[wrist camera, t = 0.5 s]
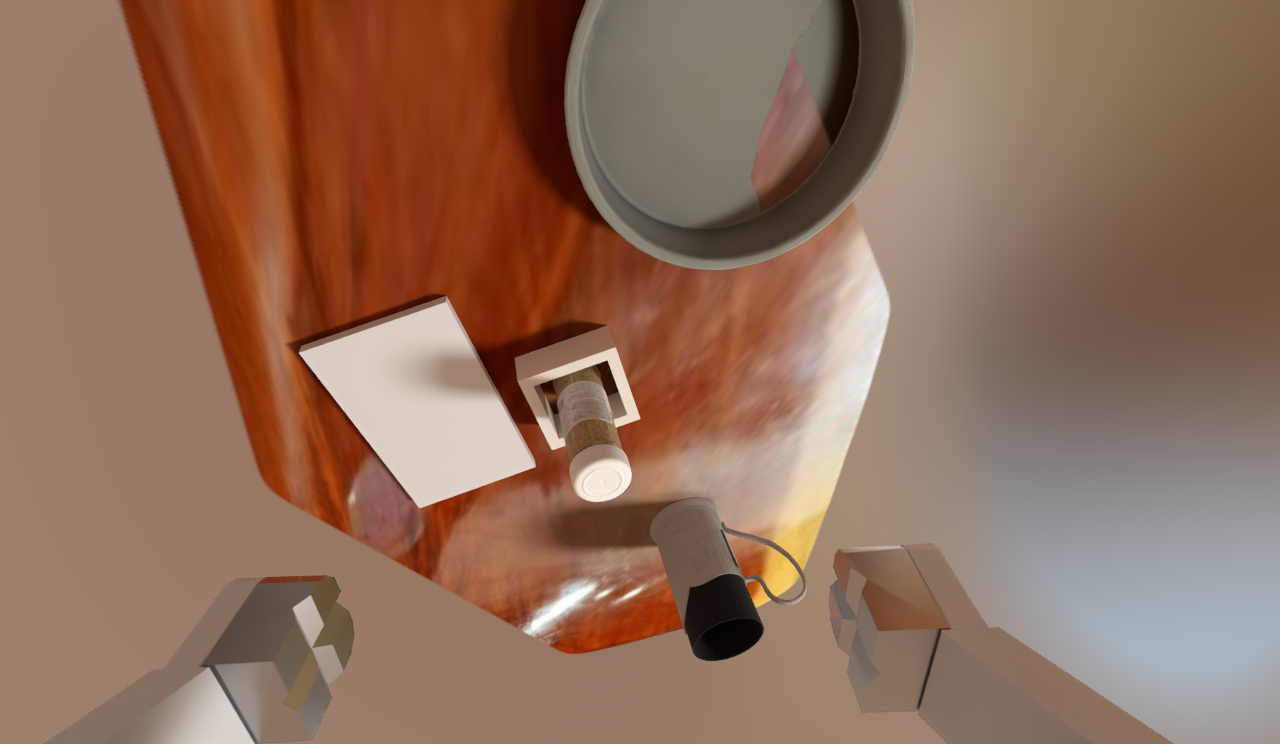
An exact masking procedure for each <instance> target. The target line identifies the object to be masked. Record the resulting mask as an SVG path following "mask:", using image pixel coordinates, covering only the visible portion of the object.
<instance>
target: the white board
mask: <svg viewBox="0 0 1280 744" xmlns="http://www.w3.org/2000/svg"><path fill="white" fill-rule="evenodd" d="M299 354H300V355H301V357H302V358H303V359H304V360H305V362H306V363H307V364H308V366H309V367H310V368H311V369H312V371H313V372H314V373H315V375H316V376H317V377H318V378H319V380H320V381H321V382H322V384H323V385H324V386H325V387H326V389H327V390H328V391H329V393H330V394H331V395H332V396H333V398H334V399H335V400H336V402H337V403H338V404H339V405H340V407H341V408H342V409H343V411H344V412H345V413H346V414H347V416H348V417H349V418H350V420H351V421H352V422H353V423H354V425H355V426H356V427H357V429H358V430H359V431H360V432H361V434H362V435H363V436H364V438H365V439H366V440H367V441H368V443H369V444H370V445H371V447H372V448H373V449H374V450H375V452H376V453H377V454H378V456H379V457H380V458H381V459H382V461H383V462H384V463H385V465H386V466H387V467H388V468H389V470H390V471H391V472H392V473H393V475H394V476H395V477H396V479H397V480H398V481H399V482H400V484H401V485H402V486H403V488H404V489H405V490H406V491H407V493H408V494H409V495H410V497H411V498H412V499H413V500H414V502H415V503H416V504H417V506H418V507H419V508H422V507H424V506H427V505H430V504H433V503H436V502H439V501H441V500H444V499H447V498H450V497H453V496H455V495H458V494H461V493H464V492H467V491H469V490H472V489H475V488H478V487H481V486H483V485H486V484H489V483H492V482H495V481H497V480H500V479H503V478H506V477H509V476H512V475H514V474H517V473H520V472H523V471H526V470H528V469H531V468H534V467H536V466H535V460H534V458H533V456H532V454H531V452H530V450H529V449H528V447H527V445H526V443H525V441H524V439H523V437H522V435H521V434H520V432H519V430H518V428H517V426H516V424H515V422H514V421H513V419H512V417H511V415H510V413H509V411H508V409H507V408H506V406H505V404H504V402H503V400H502V398H501V396H500V395H499V393H498V391H497V389H496V387H495V385H494V383H493V381H492V380H491V378H490V376H489V374H488V372H487V370H486V368H485V367H484V365H483V363H482V361H481V359H480V357H479V355H478V354H477V352H476V350H475V348H474V346H473V344H472V342H471V341H470V339H469V337H468V335H467V333H466V331H465V329H464V327H463V326H462V324H461V322H460V320H459V318H458V316H457V314H456V313H455V311H454V309H453V307H452V305H451V303H450V301H449V300H448V298H447V296H444V297H441V298H438V299H436V300H433V301H430V302H427V303H424V304H421V305H418V306H415V307H412V308H409V309H407V310H404V311H401V312H398V313H395V314H392V315H389V316H386V317H383V318H381V319H378V320H375V321H372V322H369V323H366V324H363V325H360V326H357V327H354V328H352V329H349V330H346V331H343V332H340V333H337V334H334V335H331V336H328V337H326V338H323V339H320V340H317V341H314V342H311V343H308V344H305V345H302V346H301V348H300V351H299Z"/></svg>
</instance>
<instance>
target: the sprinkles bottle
mask: <svg viewBox="0 0 1280 744" xmlns="http://www.w3.org/2000/svg"><path fill="white" fill-rule="evenodd" d="M553 388H554V390H555V392H556V396H557V405H558V411H559V416H560V421H561V426H562V431H563V436H564V440H565V445H566V448H567V452H568V456H569V461H570V477H571V481H572V485H573V489H574V491H575V492H576V494H577V495H578V496H579V497H581V498H583V499H585V500H587V501H592V502H602V501H607V500H610V499H613V498H615V497H617V496H618V495H620V494H621V493H623V492H624V491H625V490H626V488H627V487H628V485H629V484H630V481H631V476H632V475H631V469H630V465H629V462H628V459H627V456H626V454H625V453H624V451H623V450H622V447H621V444H620V440H619V437H618V434H617V430H616V426H615V423H614V420H613V415H612V411H611V408H610V405H609V402H608V398H607V395H606V392H605V390H604V388H603V385H602V381H601V374H600V372H599V370H598V368H597V367H596V366H595V365H593V366H590V367H587V368H584V369H581V370H578V371H576V372H573V373H570V374H567V375H564V376H561V377H559V378H556V379H553Z"/></svg>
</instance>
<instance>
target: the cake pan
mask: <svg viewBox="0 0 1280 744" xmlns="http://www.w3.org/2000/svg"><path fill="white" fill-rule="evenodd" d="M793 49H794V51H795V53H796V56H797V59H798V62H799V64H800V66H801V69H802V72H803V75H804V77H805V79H806V82H807V85H808V88H809V90H810V92H811V95H812V98H813V101H814V102H815V105H816V108H817V111H818V113H819V115H820V118H821V122H822V124H823V126H824V128H825V132H826V135H827V137H828V139H829V142H830V145H831V148H830V150H829V151H828V153H827V154H826V156H825V157H824V159H823V160H822V161H821V163H820V164H819V165H818V167H817V168H816V169H815V170H814V172H813V173H812V174H811V175H810V176H809V177H808V178H807V179H806V180H805V181H804V182H803V183H802V184H801V185H800V186H799V187H798V188H797V189H795V190H794V191H793V192H792V193H791V194H789V195H788V196H786V197H785V198H784V199H782V200H781V201H779V202H778V203H776V204H774V205H773V206H771V207H769V208H768V209H766V210H764V211H762V212H761V208H760V202H759V197H758V195H757V193H756V191H755V189H754V186H753V184H752V182H751V172H752V167H753V166H754V158H755V157H756V155H757V153H758V140H759V137H760V135H761V132H762V129H763V126H764V124H765V121H766V119H767V116H768V113H769V111H770V108H771V106H772V103H773V101H774V98H775V95H776V93H777V90H778V88H779V85H780V83H781V80H782V77H783V75H784V72H785V70H786V67H787V65H788V62H789V59H790V57H791V54H792V52H793ZM914 59H915V18H914V9H913V2H912V0H586V2H585V4H584V7H583V9H582V12H581V15H580V17H579V20H578V22H577V26H576V29H575V32H574V35H573V39H572V43H571V47H570V52H569V55H568V59H567V68H566V75H565V91H564V93H565V96H564V108H565V119H566V129H567V136H568V140H569V146H570V149H571V154H572V157H573V161H574V164H575V167H576V171H577V173H578V175H579V177H580V180H581V182H582V185H583V187H584V190H585V191H586V193H587V195H588V196H589V198H590V199H591V201H592V202H593V204H594V206H595V207H596V209H597V210H598V212H599V213H600V215H601V216H602V217H603V218H604V219H605V220H606V221H607V222H608V223H609V225H610V226H611V227H612V228H613V229H614V230H615V231H616V232H617V233H618V234H620V235H621V236H622V237H623V238H624V239H625V240H626V241H628V242H629V243H631V244H632V245H633V246H635V247H636V248H638V249H639V250H641V251H643V252H645V253H647V254H649V255H651V256H653V257H655V258H657V259H659V260H662V261H665V262H668V263H671V264H674V265H678V266H682V267H687V268H693V269H705V270H724V269H732V268H738V267H743V266H748V265H752V264H756V263H759V262H763V261H766V260H769V259H771V258H774V257H776V256H778V255H781V254H783V253H785V252H787V251H789V250H791V249H793V248H795V247H797V246H798V245H800V244H802V243H803V242H805V241H807V240H808V239H810V238H811V237H813V236H814V235H815V234H817V233H818V232H819V231H821V230H822V229H823V228H825V227H826V226H827V225H828V224H830V223H831V222H832V221H833V220H834V219H835V218H836V217H837V216H838V215H839V214H840V213H841V212H842V211H844V209H845V208H846V207H847V206H848V205H849V204H850V203H851V202H852V201H853V200H854V199H855V197H856V196H857V195H858V194H859V193H860V191H861V190H862V189H863V187H864V186H865V185H866V183H867V182H868V181H869V179H870V178H871V176H872V175H873V173H874V172H875V170H876V169H877V167H878V165H879V164H880V162H881V160H882V159H883V157H884V155H885V153H886V152H887V150H888V148H889V146H890V144H891V142H892V140H893V137H894V135H895V133H896V131H897V128H898V126H899V123H900V120H901V117H902V115H903V112H904V108H905V105H906V101H907V98H908V94H909V90H910V85H911V80H912V75H913V67H914Z"/></svg>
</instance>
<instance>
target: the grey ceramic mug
mask: <svg viewBox="0 0 1280 744" xmlns="http://www.w3.org/2000/svg"><path fill="white" fill-rule="evenodd" d="M721 524H722V525H721ZM724 531H725V532H727V533H728V534H731V535H734V536H737V537H741V538H745V539H749V540H753V541H757V542H760V543H763V544H765V545H768V546H770V547H772V548H774V549H776V550H777V551H779V552H780V553H781V554H783V555H784V556H785V557H787V558H788V559H789V560H790V562H791V563H792V564H793V565H794V566H795V568H796V569H797V571H798V572H799V574H800V576H801V577H802V580H803V583H804V587H803V591H802V592H801V594H800V595H798V596H797V597H796V598H794V599H792V600H783V599H779V598H777V597H775V596H774V595H773V594H772V593H771V592H770V591H769V589H768V588H767V586H766V584H765V582H764V580H763V579H762V578H761V577H760V576H757V575H751V576H748V577H745V578H744V576H743V574H742V571H741V569H740V567H739V564H738V562H737V560H736V557H735V555H734V553H733V550H732V548H731V546H730V543H729V541H728V539H727V536H726V534H725V532H724ZM650 536H651V538H652V539H653V541H654V542H655V543H656V544H657V545H658V548H659V551H660V555H661V558H662V561H663V564H664V567H665V570H666V574H667V577H668V580H669V583H670V586H671V589H672V593H673V596H674V599H675V602H676V605H677V609H678V612H679V615H680V618H681V621H682V624H683V628H684V631H685V634H687V635H688V637H689V640H690V644H691V647H692V650H693V653H694V655H695V656H696V657H698V658H699V659H702V660H706V661H718V660H724V659H728V658H731V657H734V656H737V655H739V654H741V653H743V652H745V651H746V650H748V649H750V648H751V647H752V646H754V645H755V644H756V643H757V642H758V641H759V639H760V638H761V636H762V635H763V631H764V627H763V624H762V622H761V620H760V617H759V615H758V613H757V611H756V608H755V606H754V603H753V601H752V599H751V596H750V594H749V592H748V589H747V584H746V583H747V582H750V581H754V580H757V581H759V582H760V583H761V585H762V586H763V588H764V591H765V592H766V594H767V595H768V597H770V598H771V599H772V600H773V601H774V602H776V603H778V604H780V605H785V606H787V605H793V604H796V603H798V602H799V601H800V600H801V599H803V597H804V595H805V594H806V592H807V582H806V579H805V576H804V573H803V572H802V570H801V568H800V566H799V565H798V563H797V562H796V561H795V560H794V559H793V557H792V556H791V555H790V554H789V553H788V552H786V551H785V550H784V549H783V548H781V547H780V546H778V545H777V544H775V543H774V542H772V541H770V540H767V539H764V538H760V537H757V536H754V535H750V534H746V533H742V532H738V531H735V530H732V529H729V528H727V527H726V526H725V524H724V523H723V522H722V523H721V522H720V510H719V508H718V506H717V505H716V504H715V503H713V502H712V501H710V500H708V499H704V498H688V499H683V500H680V501H677V502H674V503H672V504H670V505H668V506H667V507H665V508H664V509H662V510H661V511H660V512H659V513H658V514H657V515H656V516H655V518H654V519H653V521H652V523H651V525H650Z"/></svg>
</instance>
